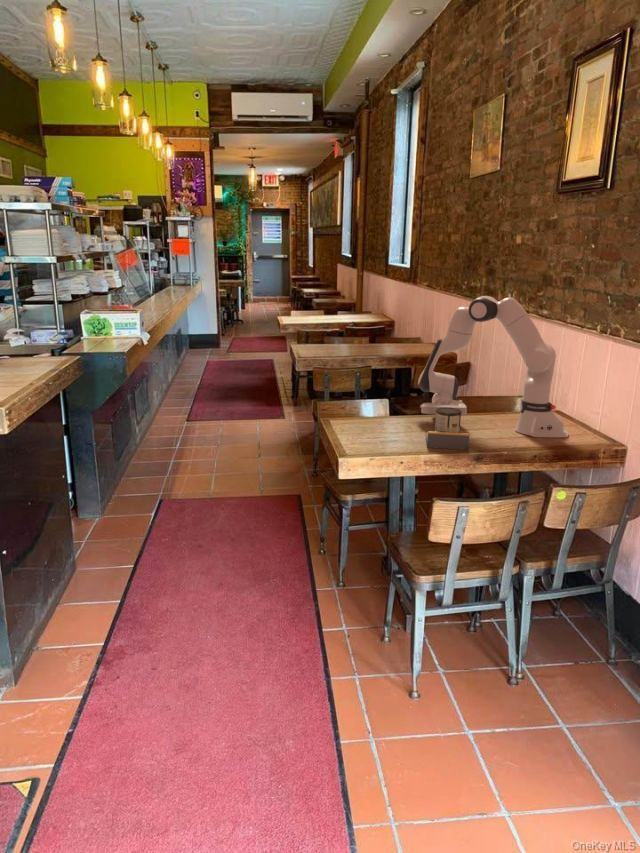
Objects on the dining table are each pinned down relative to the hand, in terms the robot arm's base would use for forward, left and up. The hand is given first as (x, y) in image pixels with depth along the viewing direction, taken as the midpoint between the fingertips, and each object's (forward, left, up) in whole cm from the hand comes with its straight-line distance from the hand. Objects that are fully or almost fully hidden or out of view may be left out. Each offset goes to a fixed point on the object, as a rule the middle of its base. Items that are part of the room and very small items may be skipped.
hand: (444, 413), depth 277 cm
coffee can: (0, +19, -8) cm, 21 cm away
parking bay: (0, +20, -8) cm, 22 cm away
